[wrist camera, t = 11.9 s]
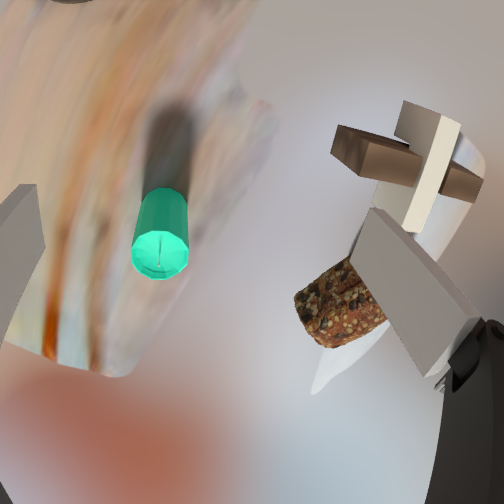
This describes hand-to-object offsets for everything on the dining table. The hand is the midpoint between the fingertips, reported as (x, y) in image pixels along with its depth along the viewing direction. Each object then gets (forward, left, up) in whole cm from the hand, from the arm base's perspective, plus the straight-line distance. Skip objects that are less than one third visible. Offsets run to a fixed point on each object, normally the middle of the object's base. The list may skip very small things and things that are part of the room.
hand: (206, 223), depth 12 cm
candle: (+13, -2, -27) cm, 30 cm away
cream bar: (+1, +29, -27) cm, 39 cm away
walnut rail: (+1, +29, -27) cm, 39 cm away
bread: (+24, +28, -27) cm, 46 cm away
